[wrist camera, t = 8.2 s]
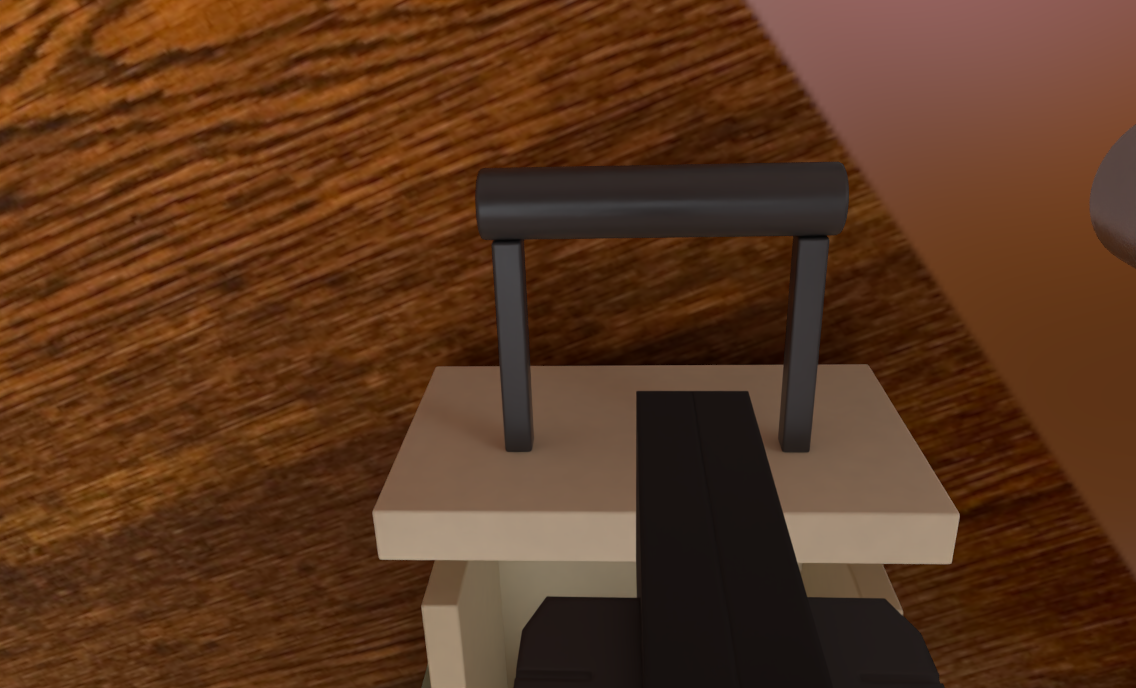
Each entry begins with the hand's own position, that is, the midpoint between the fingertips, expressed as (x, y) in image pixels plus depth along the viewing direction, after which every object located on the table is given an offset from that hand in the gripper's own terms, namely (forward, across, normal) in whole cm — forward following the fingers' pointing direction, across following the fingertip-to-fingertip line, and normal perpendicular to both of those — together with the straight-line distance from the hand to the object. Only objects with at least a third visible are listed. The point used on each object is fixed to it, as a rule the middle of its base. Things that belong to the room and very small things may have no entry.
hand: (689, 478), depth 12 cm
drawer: (+11, 0, -7) cm, 13 cm away
